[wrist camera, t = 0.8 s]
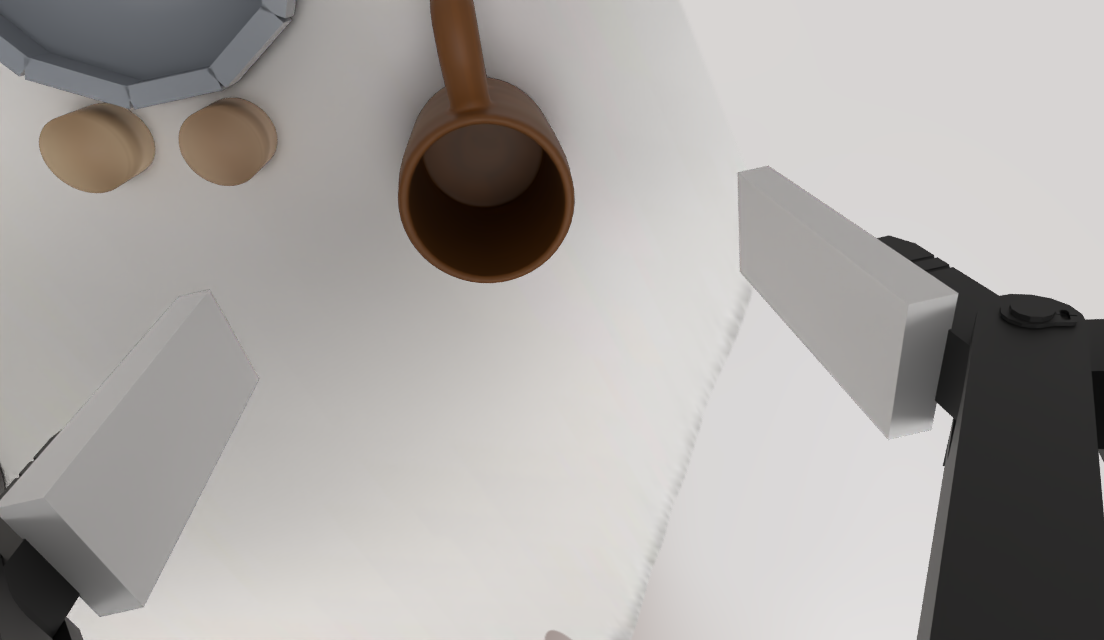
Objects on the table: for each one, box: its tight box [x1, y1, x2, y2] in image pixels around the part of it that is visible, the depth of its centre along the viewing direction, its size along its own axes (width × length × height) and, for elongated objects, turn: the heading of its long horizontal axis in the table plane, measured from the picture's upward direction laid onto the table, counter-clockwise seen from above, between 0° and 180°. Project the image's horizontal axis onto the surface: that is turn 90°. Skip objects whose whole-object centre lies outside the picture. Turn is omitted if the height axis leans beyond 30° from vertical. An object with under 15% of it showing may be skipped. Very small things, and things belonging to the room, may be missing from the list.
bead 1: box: [39, 103, 155, 193], centre depth 29 cm, size 4×4×3 cm
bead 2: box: [179, 98, 277, 186], centre depth 30 cm, size 4×4×3 cm
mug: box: [398, 0, 575, 283], centre depth 28 cm, size 12×8×9 cm, turn 7°
